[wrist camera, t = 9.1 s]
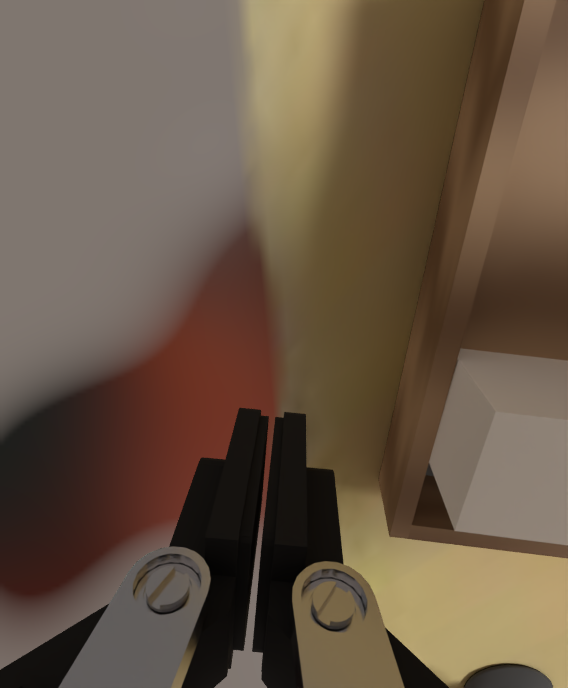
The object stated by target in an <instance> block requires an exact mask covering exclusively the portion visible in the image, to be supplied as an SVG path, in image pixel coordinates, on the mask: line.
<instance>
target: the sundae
mask: <svg viewBox="0 0 568 688" xmlns="http://www.w3.org/2000/svg"><path fill="white" fill-rule="evenodd" d="M464 688H553V685H552V683H551V681H550V680H549V679H548V678H547V677H546V676H545V675H544V674H542V673H541V672H539V671H537V670H535V669H533V668H530V667H526V666H521V665H500V666H494V667H489V668H487V669H484V670H482V671H480V672H478V673H476V674H474V675H473V676H472V677H471V678H470V679H469V680H468V681H467V682H466V685H465V687H464Z"/></svg>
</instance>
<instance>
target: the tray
mask: <svg viewBox="0 0 568 688" xmlns="http://www.w3.org/2000/svg"><path fill="white" fill-rule="evenodd" d="M460 348H461V349H470V350H479V351H488V352H497V353H505V354H514V355H523V356H532V357H540V358H549V359H558V360H567V361H568V0H484V5H483V9H482V14H481V18H480V23H479V27H478V32H477V37H476V41H475V46H474V50H473V55H472V59H471V64H470V68H469V73H468V77H467V82H466V86H465V91H464V95H463V100H462V104H461V109H460V113H459V118H458V123H457V127H456V132H455V136H454V141H453V145H452V150H451V154H450V159H449V163H448V168H447V172H446V177H445V181H444V186H443V190H442V195H441V199H440V204H439V208H438V213H437V218H436V222H435V227H434V231H433V236H432V240H431V245H430V249H429V254H428V258H427V263H426V267H425V272H424V276H423V281H422V285H421V290H420V294H419V299H418V304H417V308H416V313H415V317H414V322H413V326H412V331H411V335H410V340H409V344H408V349H407V353H406V358H405V362H404V367H403V371H402V376H401V380H400V385H399V389H398V394H397V399H396V403H395V408H394V412H393V417H392V421H391V426H390V430H389V435H388V439H387V444H386V448H385V453H384V457H383V462H382V466H381V471H380V475H379V484H380V489H381V494H382V499H383V505H384V510H385V515H386V520H387V525H388V531H389V536H390V537H398V538H406V539H414V540H423V541H431V542H439V543H447V544H455V545H463V546H471V547H480V548H488V549H496V550H504V551H512V552H520V553H529V554H537V555H545V556H553V557H561V558H568V545H561V544H553V543H545V542H537V541H529V540H522V539H514V538H506V537H498V536H490V535H482V534H475V533H467V532H459V531H454V528H453V525H452V523H451V520H450V517H449V515H448V512H447V509H446V507H445V504H444V501H443V499H442V496H441V493H440V491H439V488H438V485H437V483H436V480H435V477H434V474H433V472H432V469H431V466H430V464H429V460H430V457H431V453H432V449H433V446H434V442H435V439H436V435H437V431H438V428H439V424H440V420H441V417H442V413H443V410H444V406H445V402H446V399H447V395H448V391H449V388H450V384H451V381H452V377H453V373H454V370H455V366H456V362H457V359H458V355H459V352H460Z"/></svg>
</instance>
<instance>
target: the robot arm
mask: <svg viewBox="0 0 568 688" xmlns="http://www.w3.org/2000/svg"><path fill="white" fill-rule="evenodd" d="M268 419H269V416H261V410H256V409H246V408H239V411H238V415H237V418H236V422H235V426H234V430H233V433H232V438H231V441H230V445H229V449H228V453H227V456H226V460H223V459H213V458H201V459H200V461H199V464H198V466H197V469H196V472H195V475H194V478H193V480H192V483H191V486H190V489H189V492H188V495H187V498H186V500H185V503H184V506H183V509H182V512H181V515H180V517H179V520H178V523H177V526H176V529H175V532H174V535H173V538H172V540H171V543H170V546H169V547H167V548H160V549H158V550H156V551H153V552H151V553H149V554H147V555H146V556H144V557H143V558H141V559H140V560H139V561H137V562H136V564H135V565H134V566H133V567H132V569H131V570H130V571H129V573H128V574H127V576H126V577H125V579H124V581H123V582H122V584H121V585H120V587H119V589H118V590H117V592H116V594H115V595H114V597H113V599H112V600H111V602H110V603H109V604H108V605H106V606H105V607H103V608H101V609H99V610H98V611H96V612H95V613H93V614H91V615H90V616H88V617H87V618H85V619H83V620H81V621H80V622H78V623H77V624H75V625H73V626H72V627H70V628H68V629H67V630H65V631H63V632H62V633H60V634H58V635H57V636H55V637H53V638H52V639H50V640H49V641H47V642H45V643H44V644H42V645H40V646H39V647H37V648H35V649H34V650H32V651H30V652H29V653H27V654H26V655H24V656H22V657H21V658H19V659H17V660H16V661H14V662H12V663H11V664H9V665H7V666H6V667H4V668H3V669H1V670H0V688H214V687H215V686H216V685H217V684H218V683H220V682H221V681H222V680H223V679H224V678H225V677H226V676H227V672H228V669H230V668H231V663H232V656H233V650H241V651H243V650H244V644H245V636H246V628H247V619H248V611H249V603H250V594H251V586H252V579H253V570H254V562H255V554H256V546H257V538H258V529H259V521H260V513H261V504H262V492H263V480H264V468H265V455H266V444H267V432H268ZM252 651H253V652H262V653H263V659H262V681H263V682H264V684H265V685H266V686H267V688H449V687H448V686H447V685H446V684H445V683H443V682H442V681H441V680H440V679H439V678H438V677H437V676H436V675H435V674H434V673H433V672H432V671H431V670H430V669H429V668H428V667H426V666H425V665H424V664H423V663H422V662H421V661H420V660H419V659H418V658H417V657H416V656H415V655H414V654H413V653H412V652H411V651H410V650H408V649H407V648H406V647H405V646H404V645H403V644H402V643H401V642H400V641H399V640H398V639H397V638H396V637H395V636H394V635H393V634H391V633H390V632H389V631H388V630H387V629H386V628H385V626H384V623H383V619H382V616H381V613H380V610H379V607H378V604H377V601H376V598H375V595H374V593H373V591H372V589H371V587H370V585H369V584H368V582H367V581H366V580H365V579H364V578H363V577H362V575H361V574H359V573H358V572H356V571H355V570H354V569H352V568H351V567H349V566H346V565H343V555H342V546H341V536H340V526H339V516H338V506H337V496H336V487H335V477H334V472H333V470H328V469H317V468H307V467H306V414H299V413H288V412H284V418H280V417H275V426H274V435H273V444H272V454H271V463H270V472H269V481H268V491H267V500H266V509H265V518H264V527H263V537H262V547H261V557H260V569H259V581H258V593H257V603H256V615H255V627H254V639H253V649H252Z"/></svg>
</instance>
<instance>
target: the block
mask: <svg viewBox="0 0 568 688" xmlns="http://www.w3.org/2000/svg"><path fill="white" fill-rule="evenodd" d="M429 464H430V466H431V469H432V472H433V474H434V477H435V480H436V483H437V485H438V488H439V491H440V493H441V496H442V499H443V501H444V504H445V507H446V509H447V512H448V515H449V517H450V520H451V523H452V525H453V528H454V531H459V532H467V533H475V534H482V535H490V536H498V537H506V538H514V539H522V540H529V541H537V542H545V543H553V544H561V545H568V361H567V360H558V359H549V358H540V357H532V356H523V355H514V354H505V353H497V352H488V351H479V350H470V349H461V348H460V352H459V355H458V359H457V362H456V366H455V370H454V373H453V377H452V381H451V384H450V388H449V391H448V395H447V399H446V402H445V406H444V410H443V413H442V417H441V420H440V424H439V428H438V431H437V435H436V439H435V442H434V446H433V449H432V453H431V457H430V460H429Z"/></svg>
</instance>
